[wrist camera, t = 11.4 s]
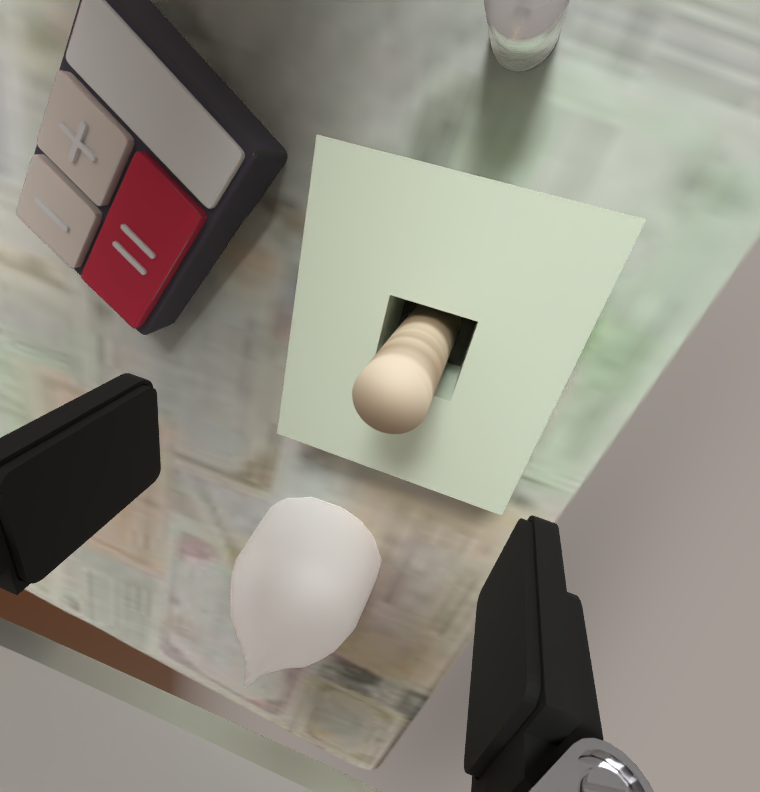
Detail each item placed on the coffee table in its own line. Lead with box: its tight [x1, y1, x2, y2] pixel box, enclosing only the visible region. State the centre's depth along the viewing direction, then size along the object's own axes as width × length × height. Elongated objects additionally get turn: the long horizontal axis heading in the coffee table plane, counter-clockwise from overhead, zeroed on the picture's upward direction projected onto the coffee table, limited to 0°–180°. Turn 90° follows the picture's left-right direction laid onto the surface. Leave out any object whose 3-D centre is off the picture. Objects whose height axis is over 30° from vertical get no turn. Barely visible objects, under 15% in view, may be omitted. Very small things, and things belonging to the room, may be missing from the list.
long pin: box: [352, 304, 461, 434], centre depth 21 cm, size 3×3×11 cm
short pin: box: [484, 0, 569, 72], centre depth 17 cm, size 3×3×5 cm
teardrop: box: [230, 497, 382, 688], centre depth 32 cm, size 11×11×12 cm
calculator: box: [16, 0, 287, 335], centre depth 26 cm, size 11×4×15 cm
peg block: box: [277, 135, 646, 516], centre depth 24 cm, size 16×14×5 cm
